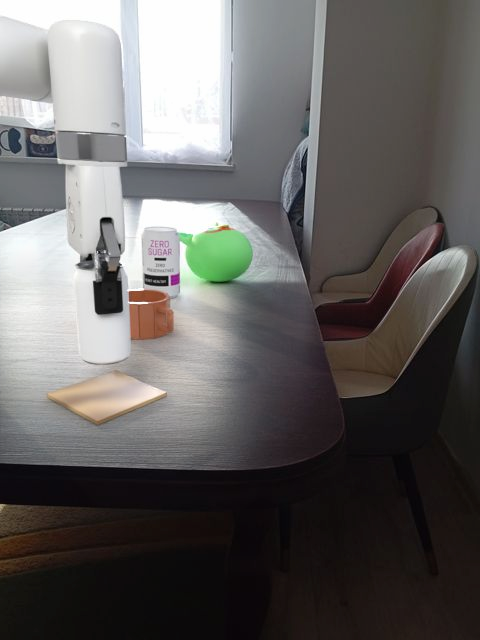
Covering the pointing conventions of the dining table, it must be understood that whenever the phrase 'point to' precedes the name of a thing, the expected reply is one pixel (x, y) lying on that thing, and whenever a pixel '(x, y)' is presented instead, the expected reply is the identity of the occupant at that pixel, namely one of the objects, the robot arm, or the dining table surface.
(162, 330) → the mug
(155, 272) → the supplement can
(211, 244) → the green teapot
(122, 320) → the can
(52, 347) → the dining table surface
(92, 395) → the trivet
